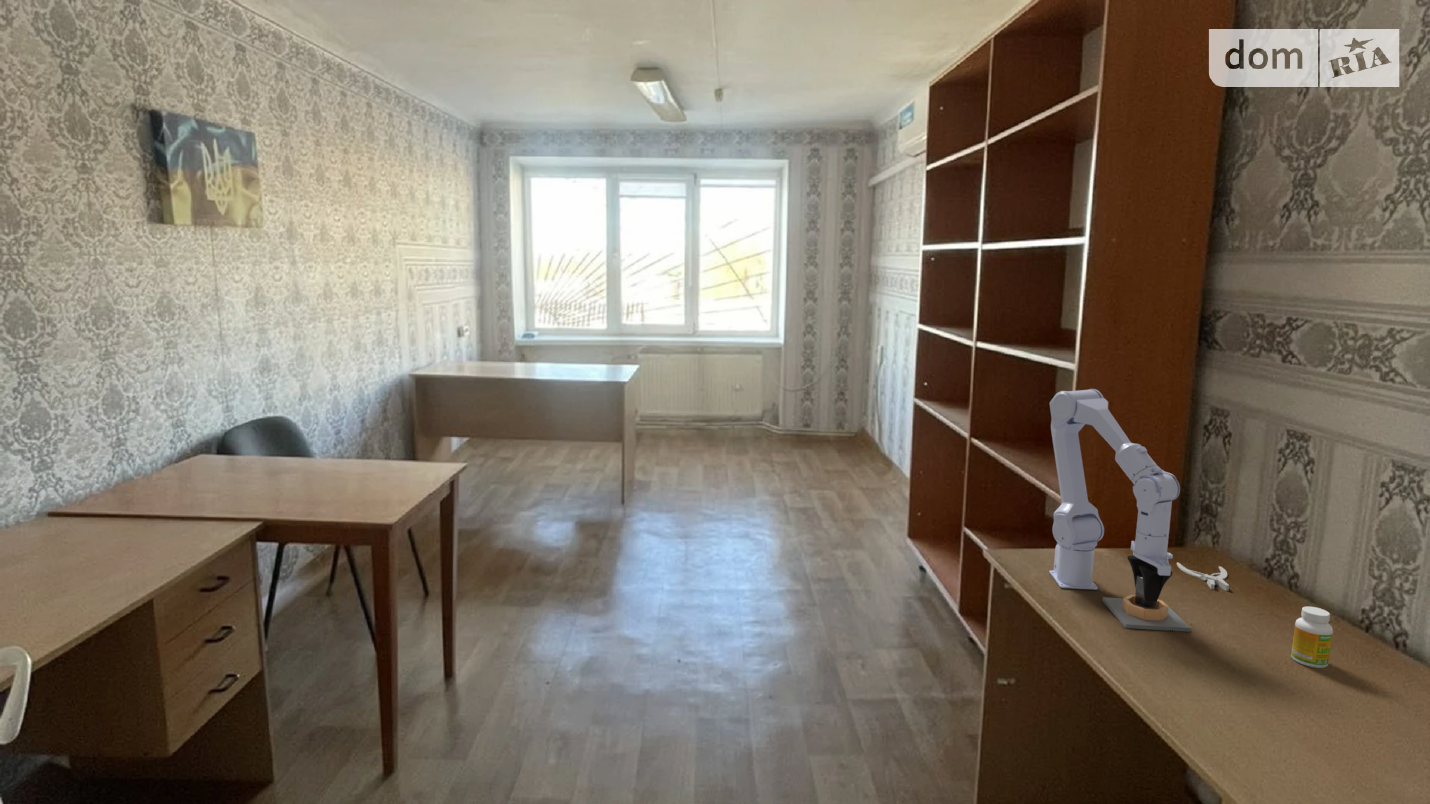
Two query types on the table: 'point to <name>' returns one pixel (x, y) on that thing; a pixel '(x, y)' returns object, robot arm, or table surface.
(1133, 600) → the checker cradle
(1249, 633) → the table surface
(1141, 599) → the cell
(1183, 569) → the pliers
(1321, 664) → the supplement bottle
